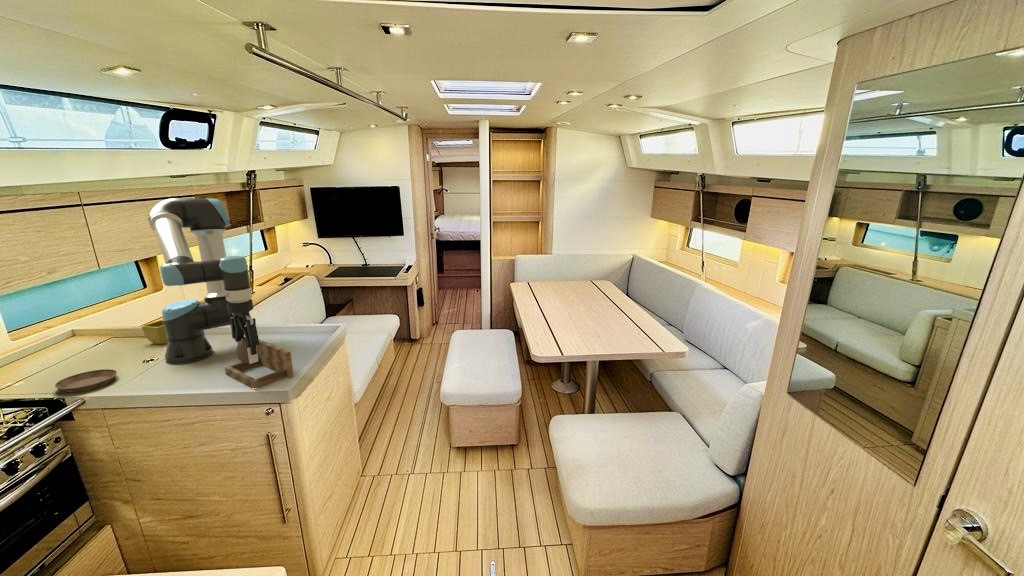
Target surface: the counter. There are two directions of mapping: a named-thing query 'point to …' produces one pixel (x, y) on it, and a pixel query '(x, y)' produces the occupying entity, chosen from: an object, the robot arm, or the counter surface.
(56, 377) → the counter surface
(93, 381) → the saucer
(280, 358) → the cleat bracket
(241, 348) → the vase
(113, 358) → the counter surface
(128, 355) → the counter surface
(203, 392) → the counter surface
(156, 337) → the flower pot
